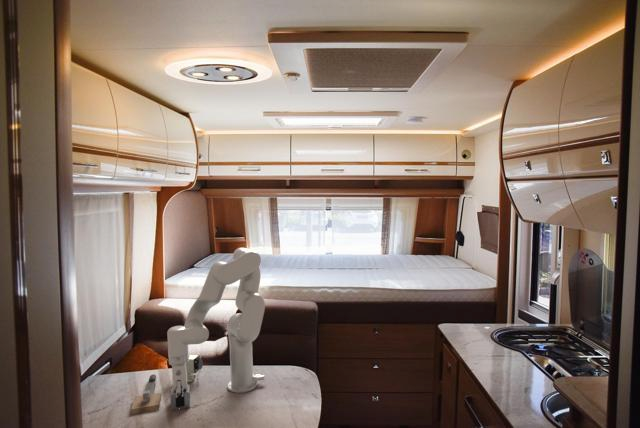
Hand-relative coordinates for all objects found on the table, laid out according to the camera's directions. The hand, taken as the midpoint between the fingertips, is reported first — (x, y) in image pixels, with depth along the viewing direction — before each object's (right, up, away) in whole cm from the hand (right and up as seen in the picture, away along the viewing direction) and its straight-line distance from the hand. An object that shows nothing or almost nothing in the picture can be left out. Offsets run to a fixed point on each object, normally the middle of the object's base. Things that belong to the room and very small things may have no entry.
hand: (180, 401), depth 162 cm
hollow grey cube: (0, -1, 0) cm, 1 cm away
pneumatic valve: (-3, 0, +21) cm, 21 cm away
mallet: (-16, -1, +8) cm, 18 cm away
